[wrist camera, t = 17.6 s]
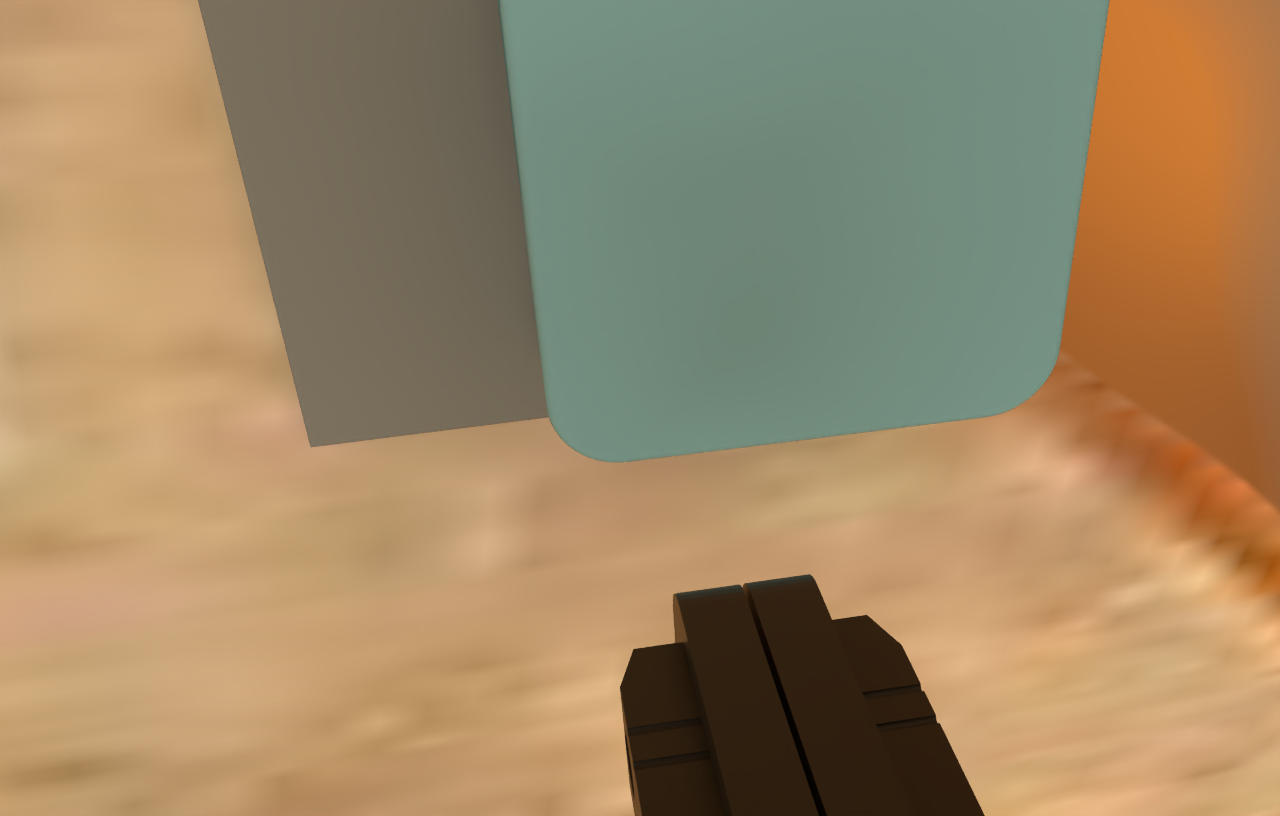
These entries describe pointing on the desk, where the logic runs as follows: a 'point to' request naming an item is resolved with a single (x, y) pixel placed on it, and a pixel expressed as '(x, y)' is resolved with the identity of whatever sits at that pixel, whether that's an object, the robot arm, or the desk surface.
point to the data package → (795, 211)
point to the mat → (385, 208)
